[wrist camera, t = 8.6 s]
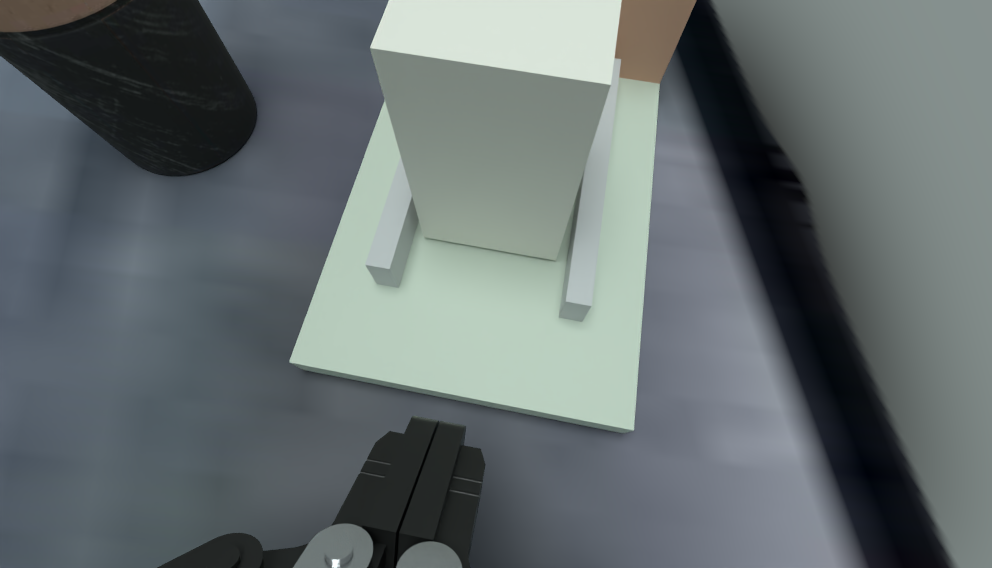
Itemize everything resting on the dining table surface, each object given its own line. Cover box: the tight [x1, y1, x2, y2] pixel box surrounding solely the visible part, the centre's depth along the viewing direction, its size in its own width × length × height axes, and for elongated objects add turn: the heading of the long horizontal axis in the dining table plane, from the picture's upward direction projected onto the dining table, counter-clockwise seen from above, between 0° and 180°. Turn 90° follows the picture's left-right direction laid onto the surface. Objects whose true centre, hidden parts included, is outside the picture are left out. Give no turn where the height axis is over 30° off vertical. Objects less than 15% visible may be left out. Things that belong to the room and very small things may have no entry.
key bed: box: [289, 0, 696, 433], centre depth 18 cm, size 22×14×12 cm, turn 169°
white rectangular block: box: [370, 0, 622, 261], centre depth 17 cm, size 5×6×10 cm
